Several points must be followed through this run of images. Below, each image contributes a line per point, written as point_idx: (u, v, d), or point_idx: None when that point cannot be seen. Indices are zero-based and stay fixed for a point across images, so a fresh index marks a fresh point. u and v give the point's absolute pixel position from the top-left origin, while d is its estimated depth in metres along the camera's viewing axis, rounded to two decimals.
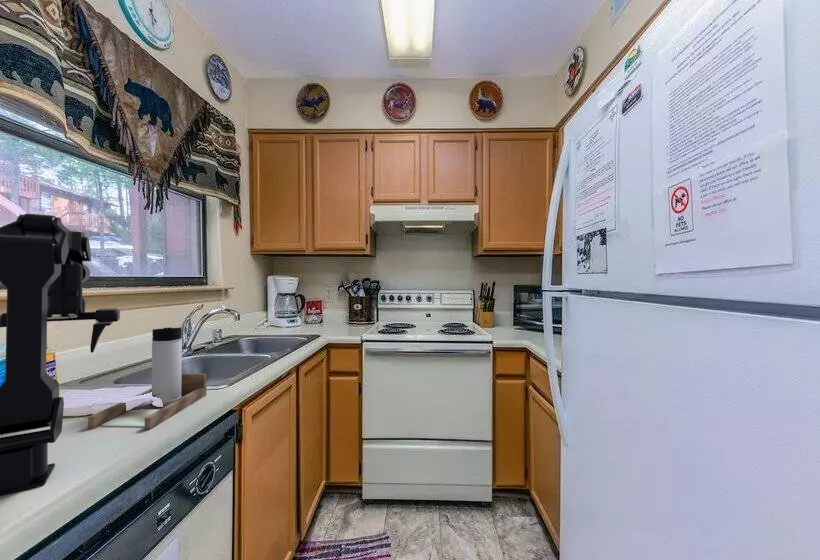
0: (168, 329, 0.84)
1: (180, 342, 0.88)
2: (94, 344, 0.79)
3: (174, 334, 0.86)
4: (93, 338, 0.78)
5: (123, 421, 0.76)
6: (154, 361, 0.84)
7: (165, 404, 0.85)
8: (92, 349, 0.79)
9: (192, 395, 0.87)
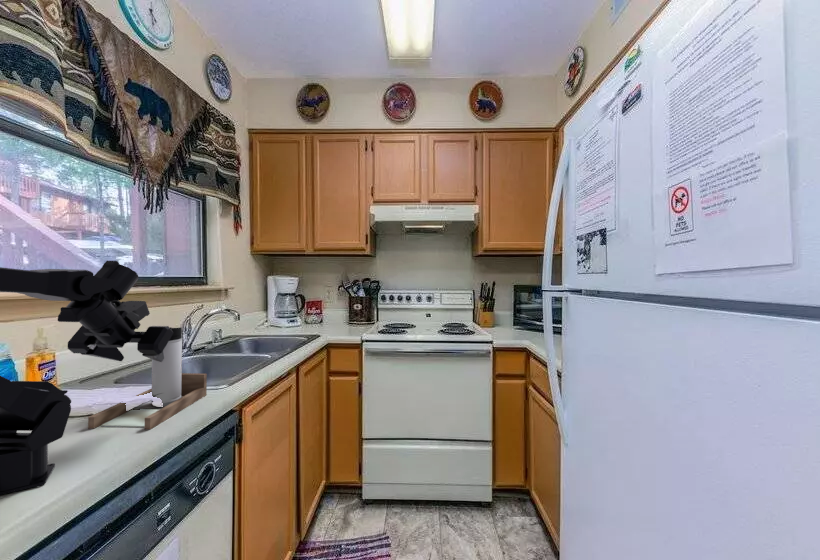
0: None
1: (180, 342, 0.88)
2: (157, 360, 0.77)
3: (174, 334, 0.86)
4: (152, 358, 0.75)
5: (123, 421, 0.76)
6: (154, 361, 0.84)
7: (165, 404, 0.85)
8: (159, 361, 0.78)
9: (192, 395, 0.87)
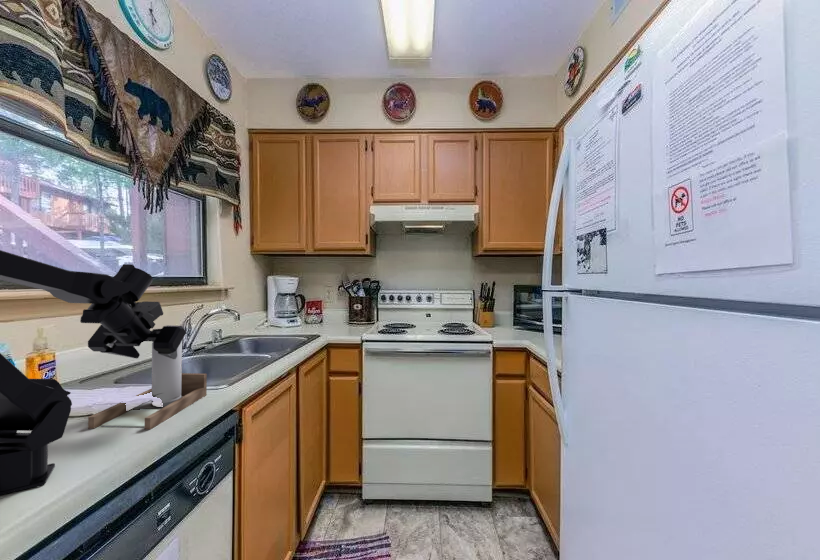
0: None
1: None
2: (171, 357, 0.81)
3: None
4: (166, 356, 0.80)
5: (123, 421, 0.76)
6: (154, 361, 0.84)
7: (165, 404, 0.85)
8: (173, 358, 0.82)
9: (192, 395, 0.87)
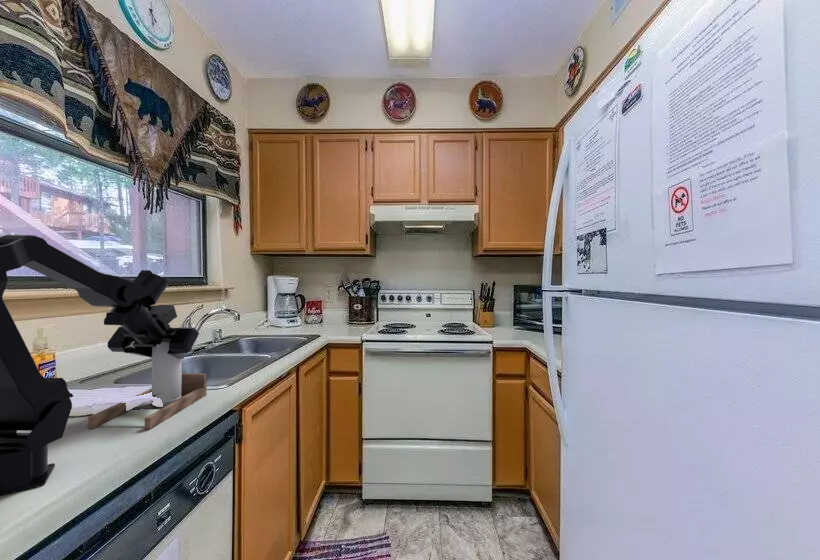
0: (168, 329, 0.84)
1: None
2: (179, 357, 0.86)
3: None
4: (175, 356, 0.85)
5: (123, 421, 0.76)
6: (154, 361, 0.84)
7: (165, 404, 0.85)
8: (181, 358, 0.87)
9: (192, 395, 0.87)
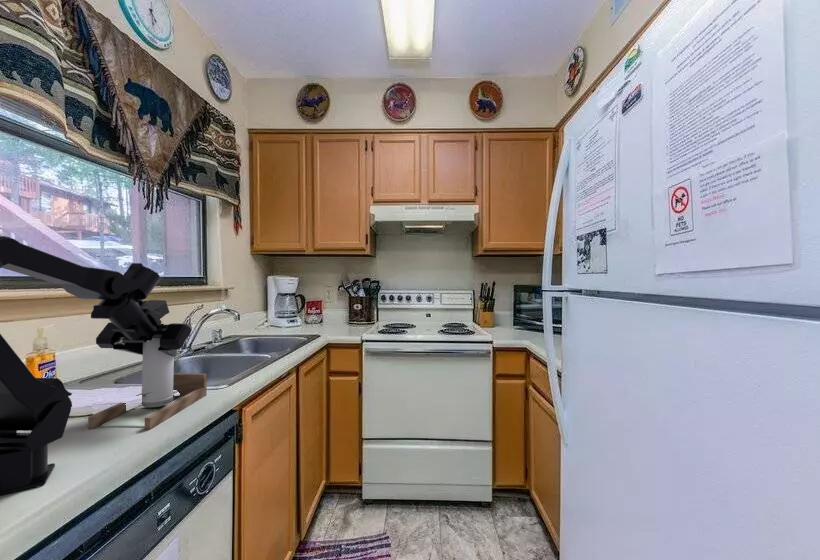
0: (160, 325, 0.81)
1: None
2: (171, 355, 0.83)
3: None
4: (166, 353, 0.82)
5: (123, 421, 0.76)
6: (144, 358, 0.81)
7: (156, 403, 0.81)
8: None
9: (192, 395, 0.87)
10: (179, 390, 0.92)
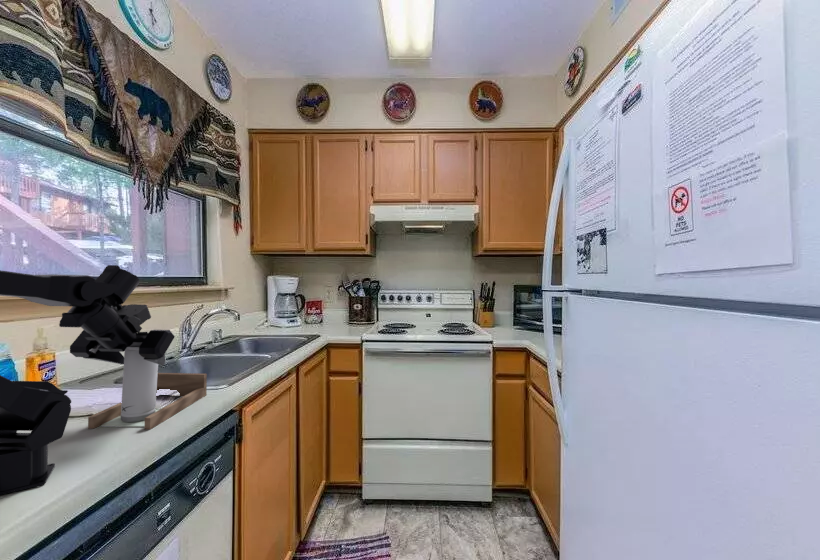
0: (143, 333, 0.76)
1: None
2: (159, 363, 0.77)
3: None
4: (153, 362, 0.76)
5: (123, 421, 0.76)
6: (125, 369, 0.75)
7: (136, 418, 0.75)
8: (161, 364, 0.78)
9: (192, 395, 0.87)
10: (179, 390, 0.92)
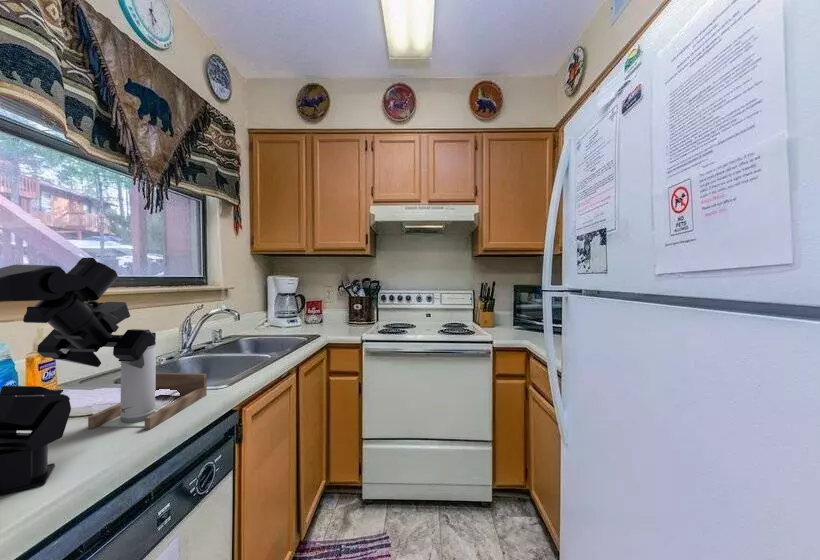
0: None
1: (153, 349, 0.78)
2: (136, 366, 0.71)
3: None
4: (130, 364, 0.70)
5: None
6: (123, 371, 0.75)
7: (136, 419, 0.75)
8: (138, 367, 0.72)
9: (192, 395, 0.87)
10: (179, 390, 0.92)
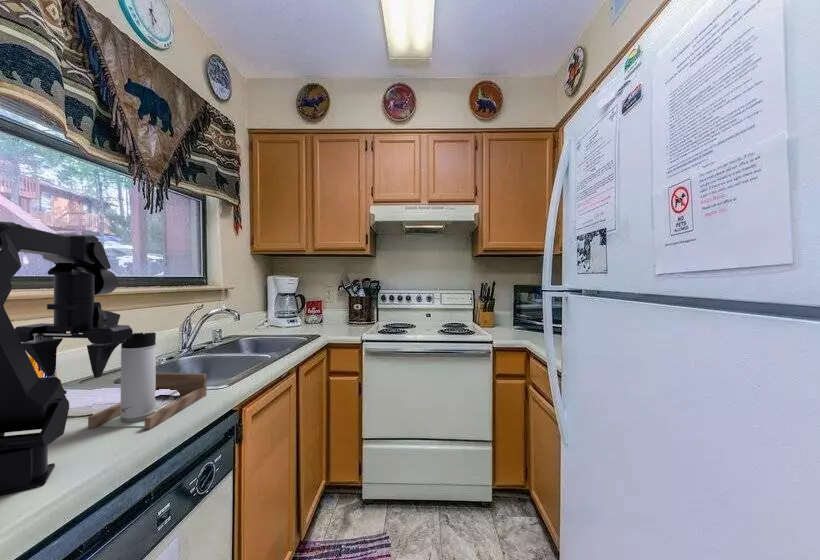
0: (139, 335, 0.75)
1: (153, 349, 0.78)
2: (94, 368, 0.66)
3: (146, 341, 0.76)
4: (91, 361, 0.65)
5: None
6: (123, 371, 0.75)
7: (136, 419, 0.75)
8: (94, 374, 0.66)
9: (192, 395, 0.87)
10: (179, 390, 0.92)
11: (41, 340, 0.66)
